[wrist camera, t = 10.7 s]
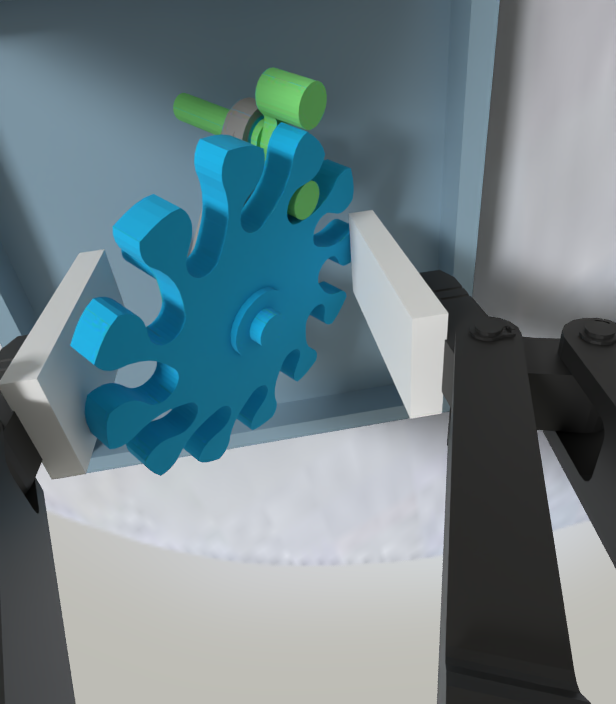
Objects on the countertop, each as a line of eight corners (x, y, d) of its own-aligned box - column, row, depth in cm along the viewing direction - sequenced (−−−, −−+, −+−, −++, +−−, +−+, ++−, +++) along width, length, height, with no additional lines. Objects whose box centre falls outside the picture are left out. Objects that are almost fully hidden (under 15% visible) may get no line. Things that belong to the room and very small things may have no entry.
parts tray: (476, -91, 14) (509, -105, 13) (445, 382, 24) (461, 409, 22) (-146, -19, 13) (-199, -23, 12) (82, 442, 23) (71, 475, 21)
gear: (309, 428, 20) (76, 552, 11) (204, 357, 22) (-52, 416, 14) (426, 139, 16) (196, 0, 7) (281, 90, 18) (-15, -55, 10)
